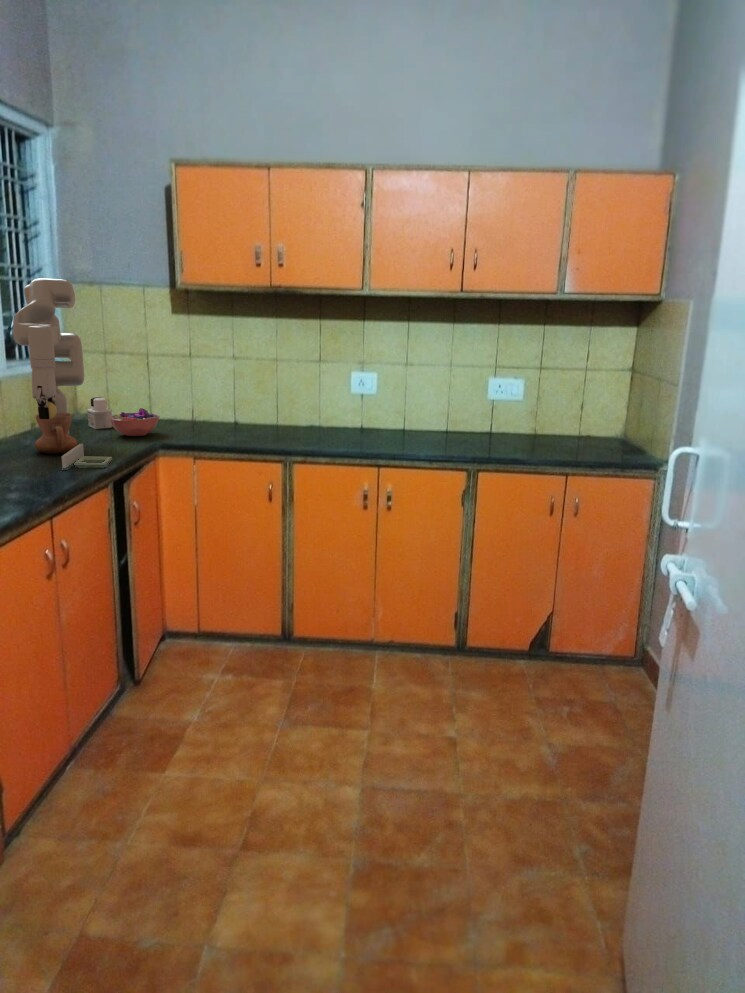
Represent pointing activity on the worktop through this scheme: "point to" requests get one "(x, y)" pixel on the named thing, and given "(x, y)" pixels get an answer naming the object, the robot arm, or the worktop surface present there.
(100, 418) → the container
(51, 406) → the ball
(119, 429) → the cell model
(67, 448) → the ceramic jug
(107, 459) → the tray
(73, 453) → the wall
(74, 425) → the worktop surface
